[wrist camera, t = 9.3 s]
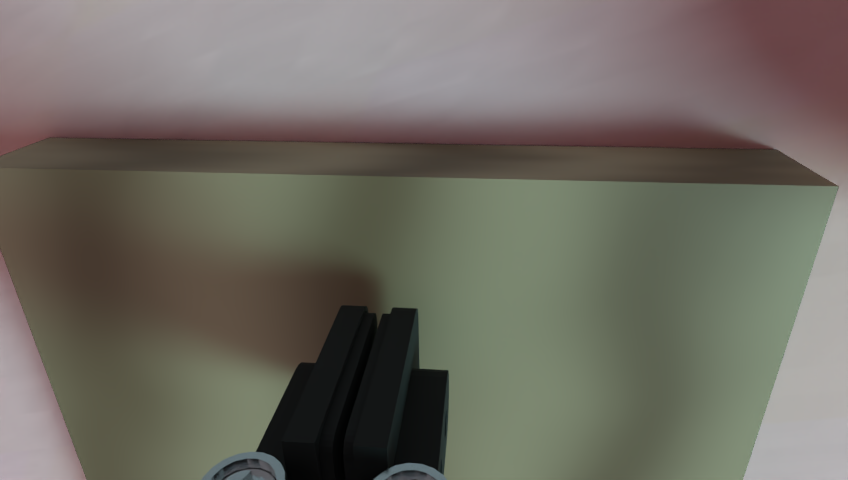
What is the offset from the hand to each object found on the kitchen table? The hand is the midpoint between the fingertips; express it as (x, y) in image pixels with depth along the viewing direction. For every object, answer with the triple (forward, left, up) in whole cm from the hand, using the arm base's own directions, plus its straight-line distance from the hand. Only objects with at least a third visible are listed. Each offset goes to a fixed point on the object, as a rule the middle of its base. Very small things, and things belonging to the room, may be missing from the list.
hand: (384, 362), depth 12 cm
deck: (0, +8, -3) cm, 9 cm away
